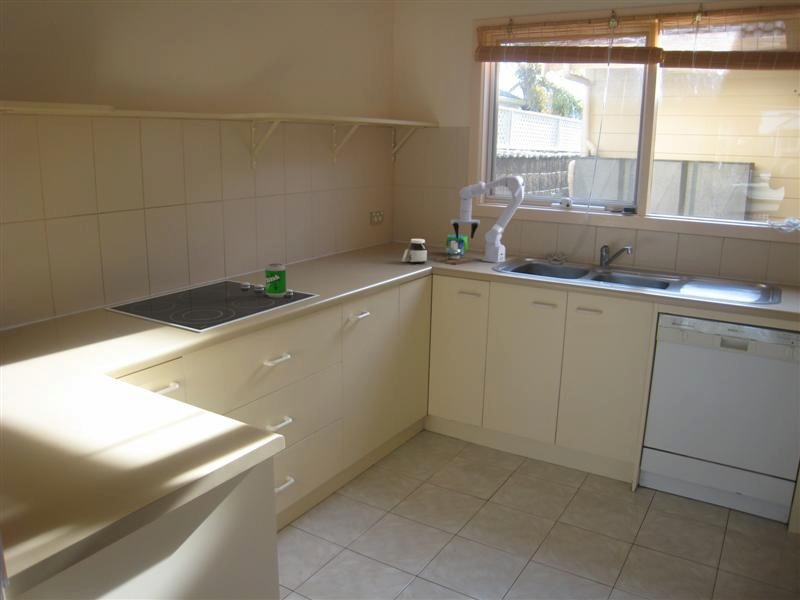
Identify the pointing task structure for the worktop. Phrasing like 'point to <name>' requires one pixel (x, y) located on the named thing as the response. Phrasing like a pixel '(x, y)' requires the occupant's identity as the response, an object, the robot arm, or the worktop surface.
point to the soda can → (275, 280)
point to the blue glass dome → (454, 249)
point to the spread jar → (416, 252)
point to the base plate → (462, 260)
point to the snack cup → (460, 240)
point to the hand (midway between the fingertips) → (464, 238)
